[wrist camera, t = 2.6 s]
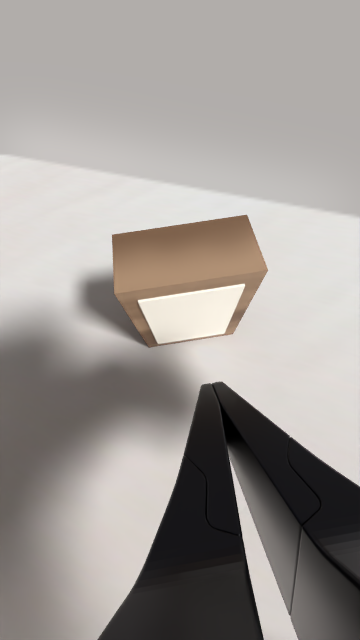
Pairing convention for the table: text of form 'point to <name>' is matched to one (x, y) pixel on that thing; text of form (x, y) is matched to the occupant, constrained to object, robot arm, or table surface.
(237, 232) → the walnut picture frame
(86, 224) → the table surface
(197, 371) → the table surface
